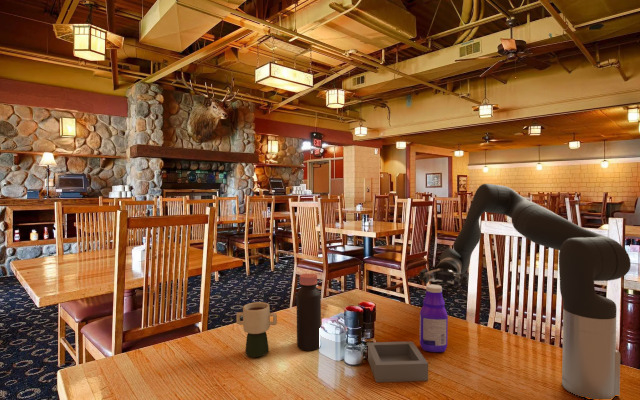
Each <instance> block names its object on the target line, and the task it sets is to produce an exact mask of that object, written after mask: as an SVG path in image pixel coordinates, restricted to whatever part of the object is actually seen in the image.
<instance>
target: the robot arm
mask: <svg viewBox="0 0 640 400" xmlns="http://www.w3.org/2000/svg"><path fill="white" fill-rule="evenodd" d="M484 213H492V214H496V215H497V214H498V215H504V216H507V217H509V218H511V224H512V226H513V228H514V230H515V231H516V232H518V233H519V234H520V235H521V236H523V237H524V238H526V239H527V240H529V241H530V242H533V243H535V244H537V245H540V246H543V247H546V248H550V249H553V250H557V251H559V252H558V273H559V292H560V295H561V298H562V303H563V305H562V309H563V310H562V358H561V359H562V363H561V364H562V368H561V371H562V372H561V373H562V374H561V385H562V387H563V388H564V389H565V390H566V391H568V393H570V392H571V393H570V394H572V393H573V394H572V395H574V394H575V395H574V396H576V395H578V396H577V397H579V396H583V397H588V398H592V399H611V398H613V397H614V396H615V395H619V396H620V395H621V394H620V392H621V391H620V390H621V389H620V388H621V386H620V385H621V383H620V382H621V353H620V351H619V350H617V310H618V309H617V304H616V303H615V301H614V300H612V299H610V298H608V297H606V296H602V295H600V294H597V293H596V287H595V282H604V281H605V282H607V281H608V282H610V281H614V280H618V279H622V278H624V277H625V276H626V275H627V274H628V273H629V271H630V269H631V263H632V262H631V259H630V255H629V254H628V251H627V250H626V249H625V248H624V246H623V245H622V244H620V243H619V241H617V240H615V239H613V238H611V237H608V236H606V235H603V234H600V233H598V232H595V231H591V230H589V229H586V228H584V227H582V226H579V225H578V224H576V223H574V222H572V221H571V220H568V219H567V218H564V217H563V216H561V215H558V214H557V213H555V212H553V211H552V210H550V209H548V208H546V207H545V206H543V205H540V204H538V203H535V202H534V201H531V200H529V199H526V198H525V197H523V196H522V195H520V194H519V193H518V192H517V191H515V190H514V189H512V188H511V187H509V186H507V185H506V186H505V185H500V184H499V185H498V184H493V183H483V184H481V185H480V186H478V188H477V189H476V191H475V192H474V194H473V198H472V201H471V203H470V206H469V208H468V211H467V214H466V217H465V220H464V223H463V225H462V228H461V229H460V231H459V233H458V234H457V236H456V239H455V240H454V241H453V245H452V247H453V248H445V249H444V250H443V251H442V253H441V254H440V257H439V262H438V263H437V265H436V266H435V268H434V269H433V270H432V269H431V270H430V271H429V269H428V268H423V269H422V270H420V271H419V280H420V281H422V282H423V283H424V284H427V285H428V283H430V282H432V283H434V282H439V283H441V284H443V285H453V288H457V287H460V286H461V284H462V285H463V286H468V283H469V273H468V272H467V271H468V269H469V266H470V263H471V257H472V254H473V252H474V250H475V249H476V247H477V246H478V244H479V242H480V240H481V238H482V237H481V236H482V231H481V227H480V226H481V225H480V218H481V216H482V215H483V214H484Z"/></svg>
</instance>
